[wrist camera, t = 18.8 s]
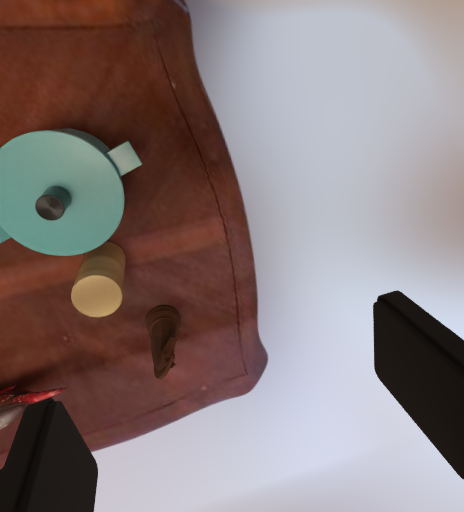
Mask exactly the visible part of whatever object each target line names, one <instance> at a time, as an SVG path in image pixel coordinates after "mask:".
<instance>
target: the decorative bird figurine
mask: <svg viewBox="0 0 464 512" xmlns="http://www.w3.org/2000/svg"><path fill="white" fill-rule="evenodd" d="M16 385H17V384H16ZM16 385H14V386H13V387H11V386H10V387H8V388H6V389H3V390H1V391H0V430H2V429H3V428H4V427H6V426H7V425H8V424H10V423H11V422H12V421H14V420H15V419H16V418H17V417H19V416H20V415H21V414H22V413H23V412H24V410H25V408H26V406H27V405H29V404H31V403H35V402H38V401H41V400H43V399H46V398H48V397H51V396H53V395H56V394H58V393H60V392H63V391H64V390H66V388H59V389H53V390H48V391H43V392H31V391H28V390H18V391H12V392H7V391H9V390H11V389H12V388H14V387H15V386H16Z"/></svg>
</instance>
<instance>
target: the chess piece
mask: <svg viewBox="0 0 464 512" xmlns="http://www.w3.org/2000/svg"><path fill="white" fill-rule="evenodd" d="M146 328H147V331H148V332H149V335H150V337H151V350H152V358H153V362H154V374H155V377H156V378H158V379H162V378H164V377H165V376H166V374H167V373H168V371H169V370H170V368H172V367H174V366H175V363H174V359H175V354H174V348H175V343H176V336H177V334H178V332H179V328H180V315H179V313H178V312H177V311H176V310H175V309H174V308H172V307H170V306H158V307H156V308H154V309H152V310H151V311H150V312H149V313H148V315H147V317H146Z"/></svg>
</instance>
